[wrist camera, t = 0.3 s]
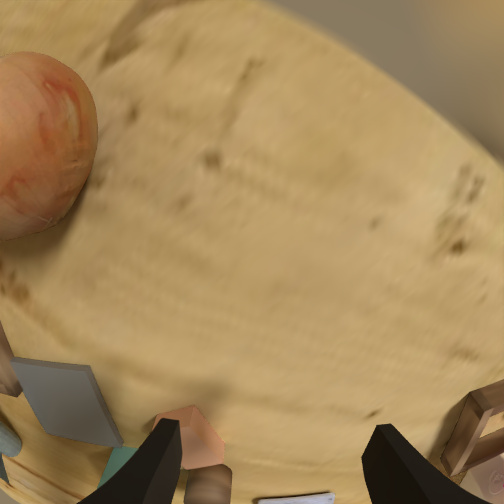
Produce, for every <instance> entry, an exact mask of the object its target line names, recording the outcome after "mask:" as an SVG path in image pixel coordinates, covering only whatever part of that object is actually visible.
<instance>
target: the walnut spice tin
mask: <svg viewBox="0 0 504 504" xmlns="http://www.w3.org/2000/svg"><path fill="white" fill-rule="evenodd" d="M231 485H232V471H231V469H230V468H228V467H227V466H225V465H224V464H217V465H212V466H207V467H201V468H195V469H190V470H189V475H188V480H187V486H186V491H185V496H184V504H230V499H231Z"/></svg>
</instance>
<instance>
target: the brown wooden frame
mask: <svg viewBox="0 0 504 504" xmlns="http://www.w3.org/2000/svg"><path fill="white" fill-rule="evenodd" d="M12 358H14V355H13V353H12V350H11V348H10V346H9V343H8V341H7V338H6V335H5V333H4V330H3V328H2V325H1V322H0V393H2V394H6V395H10V396H14V397H18V396H19V395H20V393H21V392H22V391H23V388H22V386H21V384H20V382H19V380H18V378H17V376H16V374H15V372H14V370H13V368H12V366H11V363H10V360H11V359H12Z"/></svg>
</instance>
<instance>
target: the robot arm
mask: <svg viewBox="0 0 504 504" xmlns="http://www.w3.org/2000/svg"><path fill="white" fill-rule="evenodd" d="M182 455H183V452H182V443H181V433H180V422H179V420H174V419H168V418H161V419H160V420H159V422H158V423H157V425H156V426H155V428H154V429H153V430H152V432H151V433H150V435H149V436H148V437H147V439H146V440H145V441H144V442H143V444H142V445H141V446H140V447H139V448H138V450H137V451H136V452H135V453H134V454H133V456H132V457H131V458H130V459H129V460H128V461H127V462H126V463H125V464H124V465H123V466H122V467H121V468H120V469H119V470H118V471H117V472H116V473H115V474H114V475H113V476H112V477H111V478H110V479H109V480H108V481H107V482H105V483H104V484H103V485H102V486H101V487H99V488H98V489H97V490H96V491H94V492H93V493H91V494H90V495H89V496H87V497H86V498H84V499H83V500H81V501H80V502H78V503H77V504H171V502H172V499H173V496H174V492H175V489H176V485H177V482H178V478H179V474H180V468H181V461H182ZM361 458H362V465H363V472H364V478H365V482H366V485H367V488H368V492H369V495H370V498H371V502H372V504H492V503H489V502H487V501H485V500H483V499H481V498H479V497H477V496H475V495H473V494H471V493H470V492H468V491H466V490H465V489H463V488H461V487H460V486H458V485H457V484H456V483H454V482H453V481H451V480H450V479H448V478H447V477H446V476H445V475H443V474H442V473H441V472H440V471H439V470H437V469H436V468H435V467H434V466H433V465H432V464H431V463H429V462H428V461H427V460H426V459H425V458H424V457H423V456H422V455H421V454H420V453H419V452H418V451H417V450H416V449H415V448H414V447H413V446H412V445H411V444H410V443H409V442H408V441H407V440H406V439H405V438H404V437H403V436H402V434H401V433H400V432H399V431H398V430H397V429H396V428H395V427H394V426H393V425H392V424H382V425H377V426H376V428H375V430H374V432H373V434H372V436H371V439H370V441H369V443H368V445H367V447H366V449H365V451H364V453H363V455H362V457H361ZM334 499H335V493H325V494H318V495H310V496H301V497H291V498H278V499H261V500H259V501H258V504H333V503H334Z"/></svg>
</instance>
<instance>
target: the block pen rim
mask: <svg viewBox="0 0 504 504" xmlns="http://www.w3.org/2000/svg"><path fill="white" fill-rule="evenodd" d="M502 411H504V380H501V381H499V382H496V383H494V384H491V385H488V386H486V387H483V388H480V389H477V390H475V391H472V392H470V393H469V396H468V398H467V401H466V403H465V406H464V408H463V411H462V413H461V416H460V418H459V420H458V422H457V425H456V427H455V429H454V431H453V434H452V436H451V438H450V440H449V442H448V444H447V446H446V448H445V450H444V452H443V454H442V456H441V458H440V459H441V461H442V463H443V465H444V467H445V469H446V471H447V473H448V475H449V477H451V476H454V475H456V474H459V473H461V472H463V471H466V470H468V469H470V468H473V467H475V466H477V465H479V464H482V463H484V462H486V461H488V460H490V459H492V458H494V457H496V456H498V455H500V454H502V453H504V428H502V429H499V430H497V431H495V432H493V433H491V434H489V435H486V436H484V437H482V438H479V437H480V435H481V433H482V431H483V430H484V428H485V426H486V424H487V422H488V420H489V417H491V416H493V415H496V414H498V413H500V412H502Z"/></svg>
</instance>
